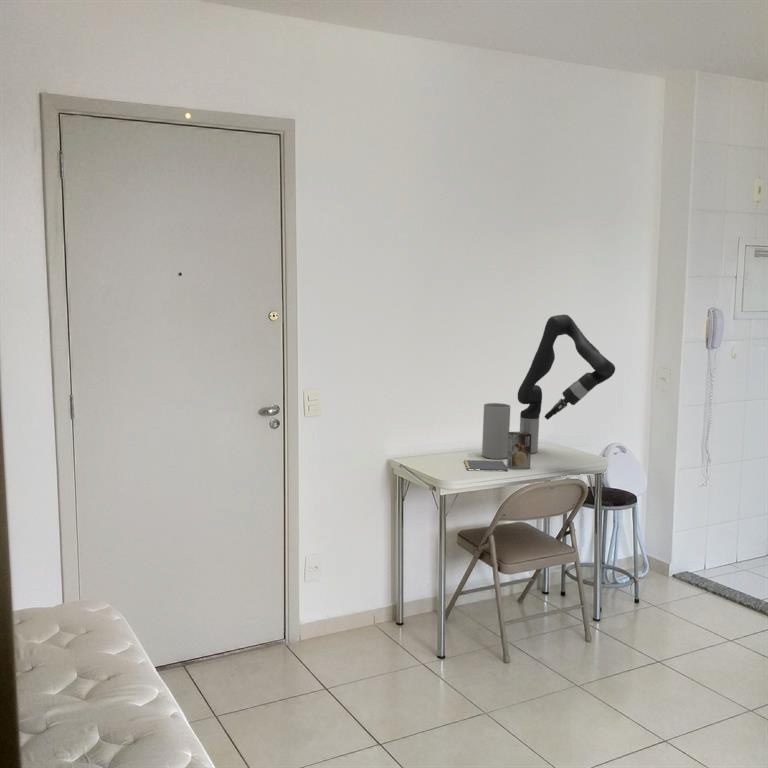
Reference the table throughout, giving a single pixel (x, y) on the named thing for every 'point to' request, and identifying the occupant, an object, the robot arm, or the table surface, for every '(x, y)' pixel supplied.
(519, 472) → the table surface
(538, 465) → the table surface
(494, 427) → the cylinder vase
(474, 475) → the table surface
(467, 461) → the mat
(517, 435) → the coffee box
